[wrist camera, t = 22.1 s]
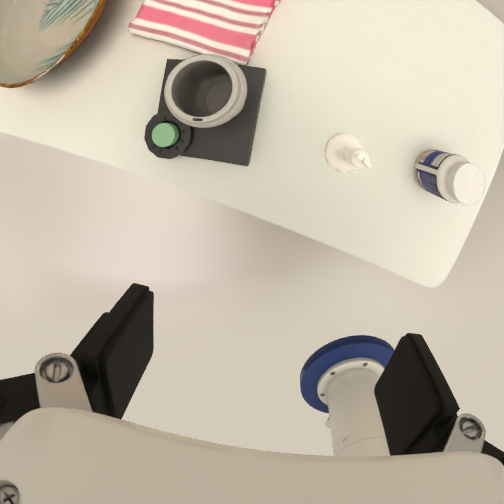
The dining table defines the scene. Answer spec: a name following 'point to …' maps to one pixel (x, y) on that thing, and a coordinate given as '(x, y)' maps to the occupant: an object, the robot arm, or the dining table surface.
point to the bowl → (41, 35)
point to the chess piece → (346, 153)
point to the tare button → (165, 134)
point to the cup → (205, 90)
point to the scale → (213, 138)
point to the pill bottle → (450, 177)
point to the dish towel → (206, 25)
